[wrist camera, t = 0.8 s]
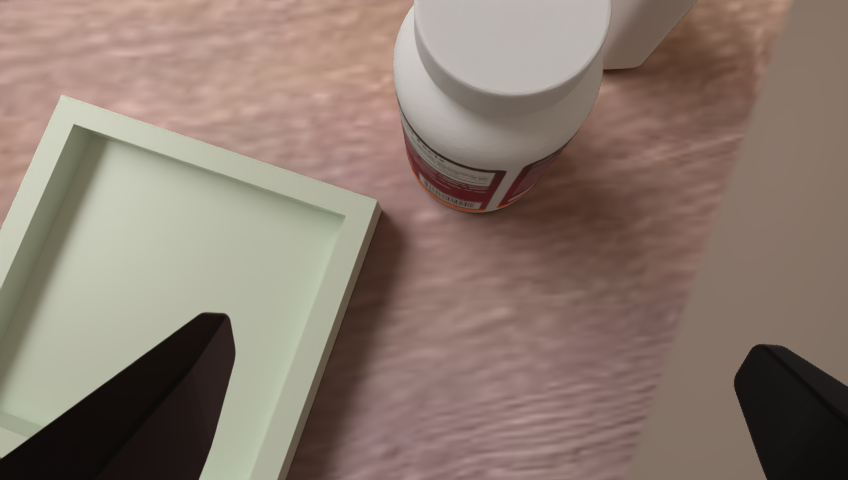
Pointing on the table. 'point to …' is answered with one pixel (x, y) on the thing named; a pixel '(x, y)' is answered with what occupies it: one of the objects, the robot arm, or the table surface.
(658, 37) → the eye dropper bottle
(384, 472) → the table surface
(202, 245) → the tray
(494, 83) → the pill bottle
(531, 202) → the table surface
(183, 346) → the robot arm
